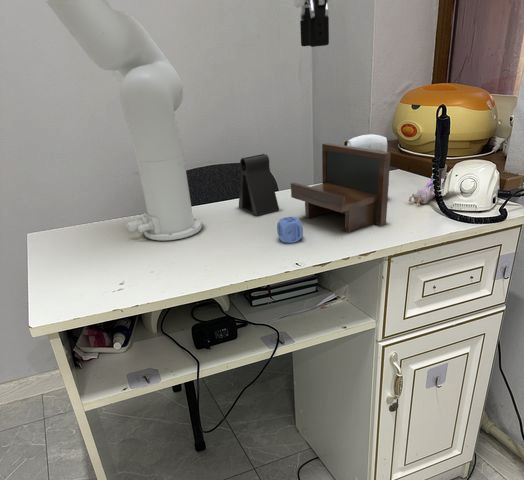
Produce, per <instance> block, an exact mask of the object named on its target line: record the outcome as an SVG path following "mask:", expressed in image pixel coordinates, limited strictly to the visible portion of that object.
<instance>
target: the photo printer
mask: <svg viewBox="0 0 524 480" xmlns="http://www.w3.org/2000/svg"><path fill="white" fill-rule="evenodd" d="M346 146H351V147H358V148H364V149H370V150H382V151H385V152H388V139H387V137H385V136H383V135H381V134H372V133H369V134H362V135H358V136H355V137H352V138H350V139H349V140H348V141H347V144H346Z"/></svg>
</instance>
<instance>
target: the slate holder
mask: <svg viewBox="0 0 524 480" xmlns="http://www.w3.org/2000/svg"><path fill="white" fill-rule="evenodd" d="M321 149H322V150H321V155H322V157H321V159H322V160H321V161H322V163H321V164H322V165H321V166H322V167H321V168H322V169H321V170H322V172H321V175H322V176H321V178H322V183H319V184H315V185H311V186H309V185H305V184H302V183H297V182H291V183H290V196H291V197H290V198H292V199H296V200H299V201H303V202H304V211H305V212H304V216H305V218H308V219H309V218H313V217H316V216H320V215H323V214H326V213H330V212H335V213H338V214H339V213H340V214H343V215H344V231H345V232H348V233H350V232H353V231H355V230H359V229H362V228H365V227H368V226H371V225H376V226H379V227H381V226H384V225H387V217H388V216H387V215H388V202H389V201H388V198H389V184H390V183H389V182H390V168H391V152H390V151H389V152H388V151H387V152H383V151H376V150H370V149H364V148H358V147H351V146H347V145H344V144H339V143H333V142H324V143H321Z"/></svg>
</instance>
